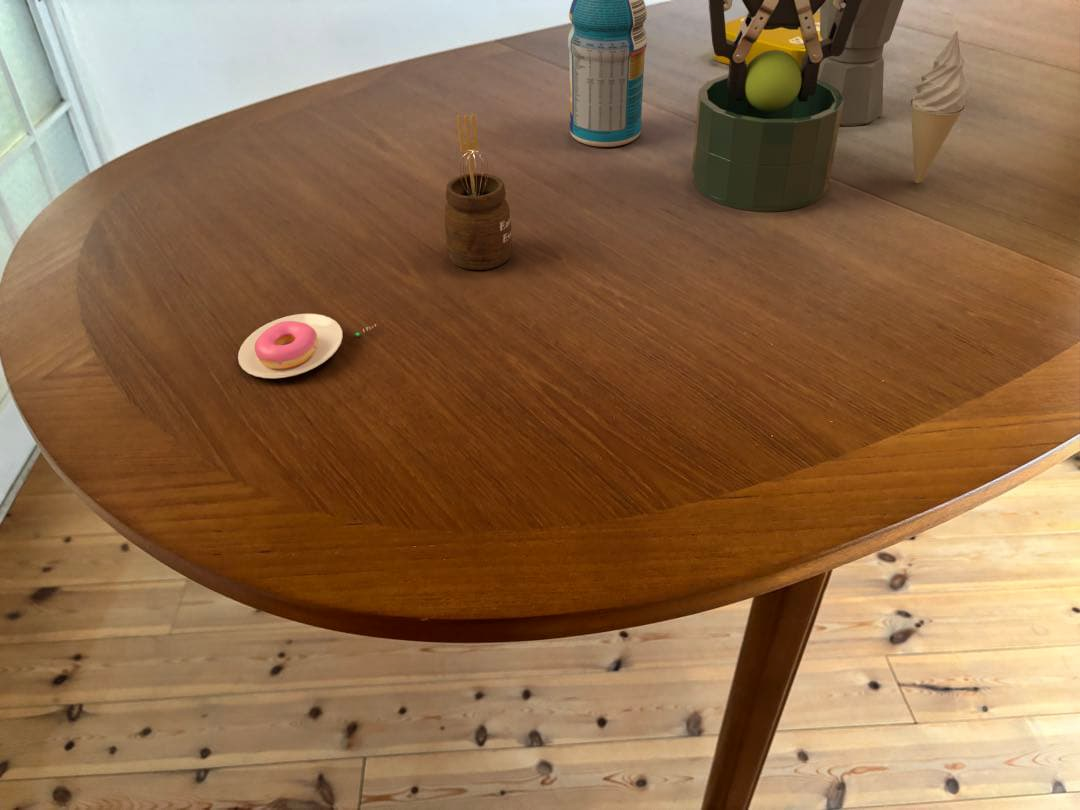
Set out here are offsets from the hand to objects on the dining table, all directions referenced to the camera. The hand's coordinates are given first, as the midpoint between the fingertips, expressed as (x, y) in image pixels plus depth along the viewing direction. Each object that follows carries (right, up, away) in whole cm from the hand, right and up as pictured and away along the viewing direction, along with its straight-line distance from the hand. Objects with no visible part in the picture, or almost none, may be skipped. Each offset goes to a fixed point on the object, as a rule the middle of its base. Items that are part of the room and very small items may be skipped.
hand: (769, 98), depth 89 cm
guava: (0, -1, +1) cm, 1 cm away
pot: (0, -7, +5) cm, 9 cm away
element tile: (+11, +17, +35) cm, 40 cm away
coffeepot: (+14, +5, +20) cm, 25 cm away
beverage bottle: (-15, +1, +16) cm, 22 cm away
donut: (-41, -25, -16) cm, 51 cm away
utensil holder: (-28, -16, -5) cm, 33 cm away
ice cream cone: (+16, -7, +4) cm, 18 cm away
